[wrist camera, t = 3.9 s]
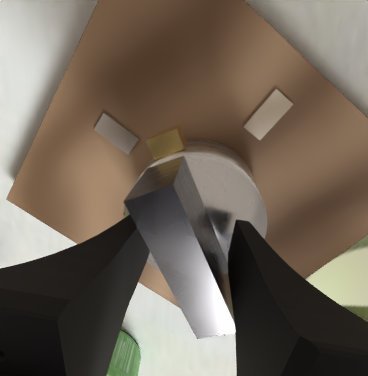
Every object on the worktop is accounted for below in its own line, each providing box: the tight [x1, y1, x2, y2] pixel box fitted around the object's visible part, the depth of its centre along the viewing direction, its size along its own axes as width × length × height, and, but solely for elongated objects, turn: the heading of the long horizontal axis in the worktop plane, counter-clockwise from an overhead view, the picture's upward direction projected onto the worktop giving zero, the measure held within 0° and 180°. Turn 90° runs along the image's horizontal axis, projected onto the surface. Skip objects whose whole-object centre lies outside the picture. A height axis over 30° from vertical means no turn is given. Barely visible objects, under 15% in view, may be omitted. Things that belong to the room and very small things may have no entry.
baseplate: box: [7, 0, 368, 335], centre depth 16 cm, size 20×18×2 cm
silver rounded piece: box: [123, 125, 267, 339], centre depth 12 cm, size 8×7×7 cm
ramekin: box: [107, 330, 141, 376], centre depth 24 cm, size 9×9×4 cm
